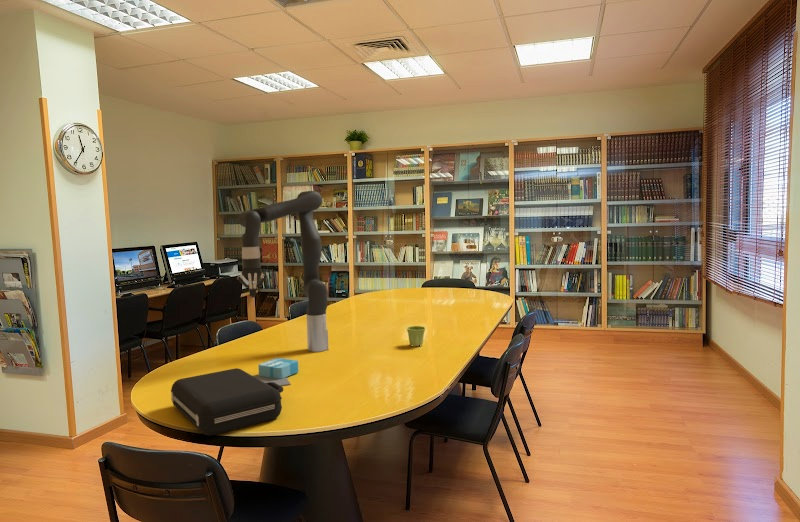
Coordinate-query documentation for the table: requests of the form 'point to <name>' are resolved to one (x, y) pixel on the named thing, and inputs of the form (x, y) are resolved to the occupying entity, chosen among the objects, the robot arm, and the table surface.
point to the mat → (273, 380)
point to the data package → (278, 368)
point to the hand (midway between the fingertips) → (253, 297)
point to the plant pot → (416, 335)
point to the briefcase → (226, 400)
